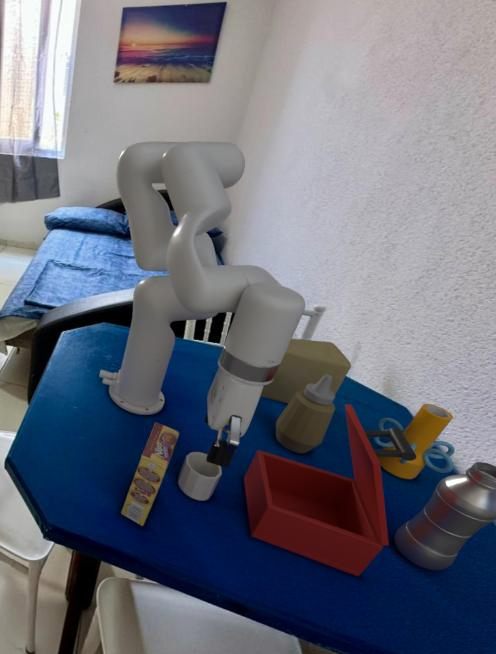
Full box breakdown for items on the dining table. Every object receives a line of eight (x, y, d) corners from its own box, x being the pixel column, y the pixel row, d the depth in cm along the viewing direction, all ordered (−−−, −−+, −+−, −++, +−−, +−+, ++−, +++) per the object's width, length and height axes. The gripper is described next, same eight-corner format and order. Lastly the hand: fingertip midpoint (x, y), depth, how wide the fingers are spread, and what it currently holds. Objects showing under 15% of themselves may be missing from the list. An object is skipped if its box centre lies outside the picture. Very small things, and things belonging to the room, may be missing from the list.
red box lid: (372, 463, 55) (428, 464, 52) (344, 404, 65) (390, 403, 62) (381, 545, 59) (434, 550, 56) (354, 478, 69) (397, 480, 66)
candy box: (145, 528, 69) (167, 467, 61) (120, 514, 71) (138, 454, 63) (158, 491, 75) (180, 431, 68) (135, 479, 77) (153, 420, 70)
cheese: (220, 396, 98) (241, 346, 91) (212, 372, 107) (230, 324, 100) (325, 416, 94) (355, 364, 86) (307, 389, 102) (334, 339, 95)
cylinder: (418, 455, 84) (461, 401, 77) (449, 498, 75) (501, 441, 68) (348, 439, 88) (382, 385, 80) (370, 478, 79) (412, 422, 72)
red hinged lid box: (251, 536, 68) (268, 506, 64) (243, 478, 78) (258, 449, 74) (358, 576, 63) (383, 547, 59) (335, 508, 73) (356, 480, 69)
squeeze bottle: (323, 461, 82) (365, 393, 74) (279, 454, 83) (316, 386, 75) (303, 432, 89) (340, 366, 80) (263, 425, 90) (295, 360, 82)
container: (177, 492, 75) (186, 471, 72) (178, 469, 80) (186, 447, 77) (212, 505, 73) (222, 483, 70) (211, 480, 77) (220, 458, 75)
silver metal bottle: (378, 536, 69) (445, 454, 59) (414, 534, 69) (487, 452, 60) (416, 577, 63) (498, 494, 53) (455, 574, 64) (543, 491, 54)
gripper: (217, 329, 70) (191, 405, 78) (223, 388, 56) (191, 472, 64) (267, 340, 68) (235, 417, 76) (287, 404, 54) (245, 490, 62)
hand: (215, 442), depth 70 cm, fingers open, 9 cm apart
